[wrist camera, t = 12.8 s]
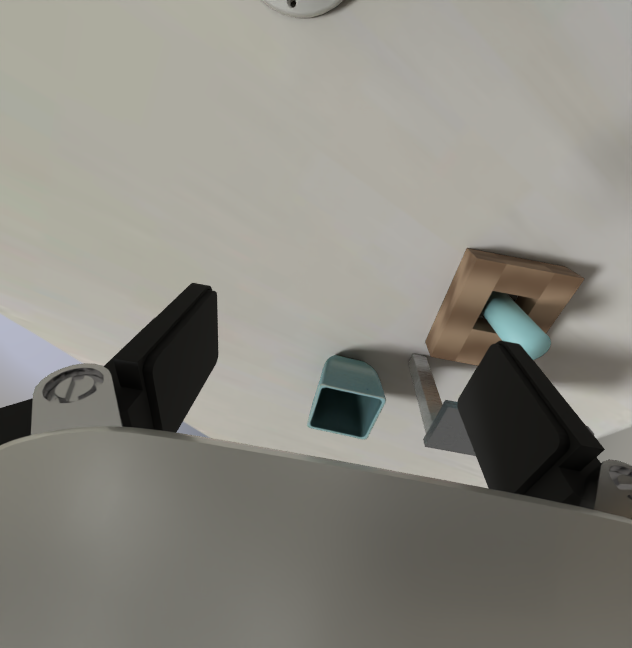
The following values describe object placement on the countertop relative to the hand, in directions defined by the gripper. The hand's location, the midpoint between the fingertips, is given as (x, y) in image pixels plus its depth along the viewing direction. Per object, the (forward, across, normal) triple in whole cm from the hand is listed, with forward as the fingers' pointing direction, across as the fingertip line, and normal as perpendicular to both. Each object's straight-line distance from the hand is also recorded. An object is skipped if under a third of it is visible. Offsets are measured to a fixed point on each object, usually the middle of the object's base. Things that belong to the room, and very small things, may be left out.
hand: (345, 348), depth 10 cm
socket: (+28, -21, +10) cm, 37 cm away
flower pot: (+29, -5, +25) cm, 38 cm away
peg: (+28, -21, +9) cm, 36 cm away
